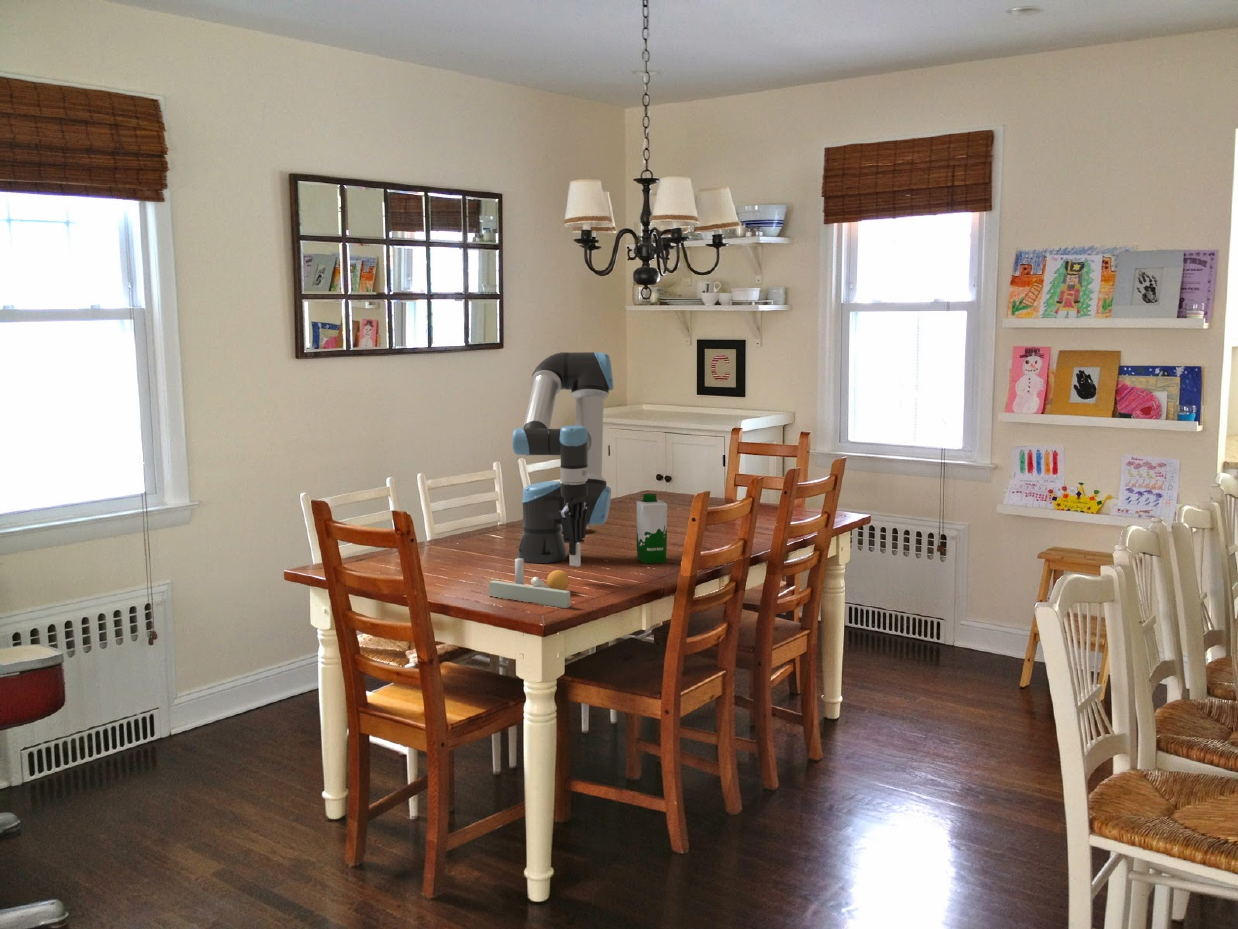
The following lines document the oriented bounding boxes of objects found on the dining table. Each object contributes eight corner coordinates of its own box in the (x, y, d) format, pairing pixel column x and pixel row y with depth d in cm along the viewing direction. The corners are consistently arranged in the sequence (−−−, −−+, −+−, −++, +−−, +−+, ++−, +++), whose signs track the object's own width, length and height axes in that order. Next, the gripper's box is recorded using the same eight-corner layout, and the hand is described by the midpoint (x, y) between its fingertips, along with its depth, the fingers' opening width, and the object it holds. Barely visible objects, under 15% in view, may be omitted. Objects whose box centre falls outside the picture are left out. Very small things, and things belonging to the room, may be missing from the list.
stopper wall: (489, 596, 291) (488, 582, 291) (493, 595, 293) (493, 580, 293) (566, 608, 280) (566, 592, 279) (570, 606, 282) (570, 591, 281)
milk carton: (660, 556, 339) (661, 492, 337) (670, 563, 331) (670, 497, 328) (633, 558, 337) (633, 494, 334) (642, 564, 328) (642, 498, 326)
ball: (548, 565, 294) (556, 568, 300) (540, 586, 294) (549, 589, 300) (567, 573, 292) (575, 575, 298) (559, 594, 292) (567, 596, 297)
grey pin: (513, 590, 298) (513, 559, 297) (518, 588, 300) (518, 557, 299) (520, 591, 297) (520, 560, 296) (525, 589, 299) (525, 558, 298)
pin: (541, 593, 294) (529, 584, 286) (544, 585, 294) (533, 575, 287) (549, 596, 293) (537, 586, 285) (552, 587, 293) (540, 578, 286)
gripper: (573, 487, 295) (574, 572, 299) (597, 479, 306) (598, 562, 310) (549, 484, 299) (551, 569, 303) (574, 477, 310) (575, 558, 314)
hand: (575, 565), depth 306 cm, fingers closed
